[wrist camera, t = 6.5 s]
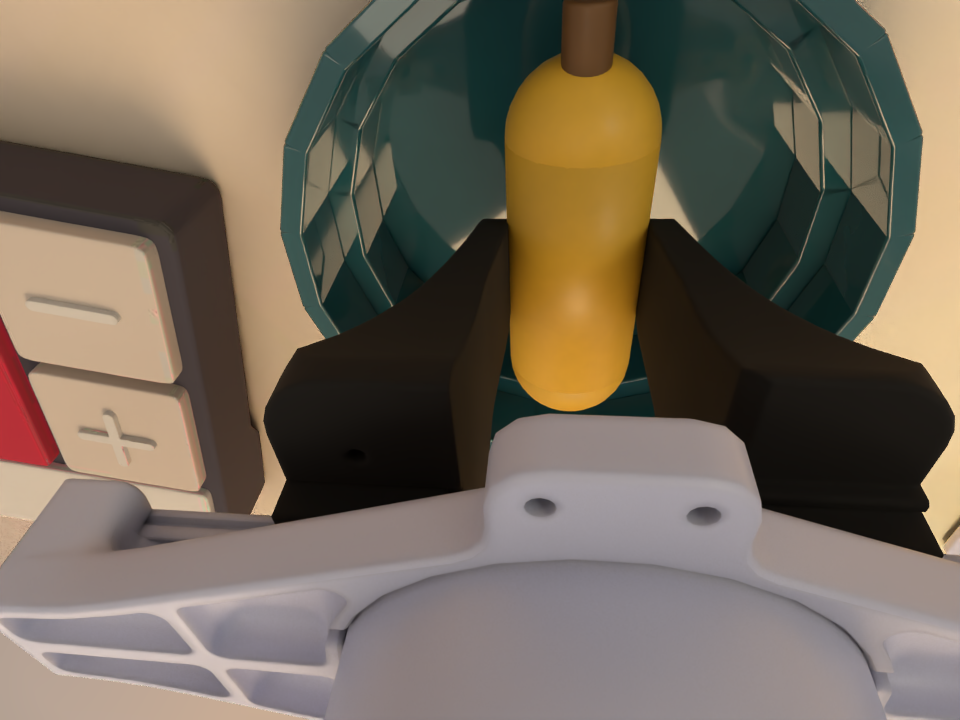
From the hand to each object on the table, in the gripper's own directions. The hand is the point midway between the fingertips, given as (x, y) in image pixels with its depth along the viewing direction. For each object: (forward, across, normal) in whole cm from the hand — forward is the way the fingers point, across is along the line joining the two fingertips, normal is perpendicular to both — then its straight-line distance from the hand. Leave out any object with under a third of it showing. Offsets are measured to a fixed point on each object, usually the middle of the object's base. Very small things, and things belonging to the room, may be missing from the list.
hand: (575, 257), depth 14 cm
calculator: (+4, +17, +6) cm, 18 cm away
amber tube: (+1, 0, 0) cm, 1 cm away
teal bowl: (+4, 0, 0) cm, 4 cm away
